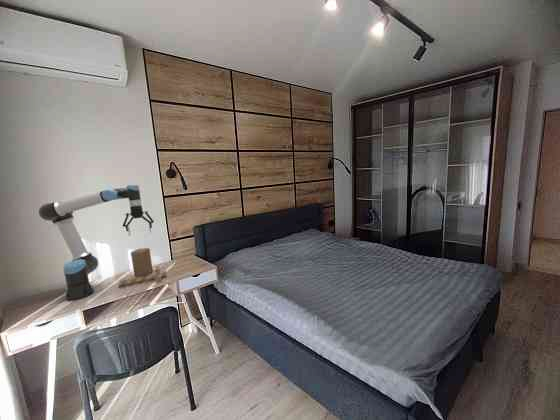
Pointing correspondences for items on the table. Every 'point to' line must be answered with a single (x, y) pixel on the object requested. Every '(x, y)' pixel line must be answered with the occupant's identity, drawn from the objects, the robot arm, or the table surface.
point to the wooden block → (141, 262)
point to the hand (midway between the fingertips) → (140, 234)
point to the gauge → (157, 274)
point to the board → (140, 280)
